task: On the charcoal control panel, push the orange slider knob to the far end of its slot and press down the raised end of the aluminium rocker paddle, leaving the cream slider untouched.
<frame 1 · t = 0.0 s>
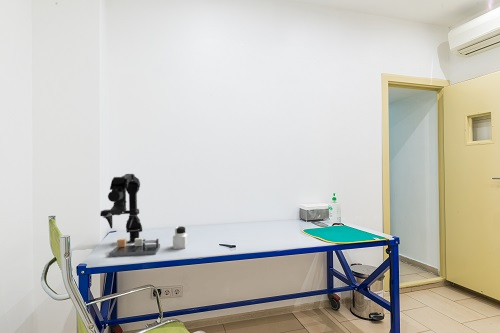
hand: (120, 228, 150), 15 cm above the table, fingers open, 9 cm apart
rocker: (150, 241, 156), point 5 cm above the table, hinge at -15.0°
medicine bottle: (180, 247, 163), on the table
slider orange: (121, 242, 158), point 4 cm above the table, slide at 0.0 cm
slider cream: (138, 242, 159), point 4 cm above the table, slide at 0.0 cm
panel: (136, 251, 155), on the table
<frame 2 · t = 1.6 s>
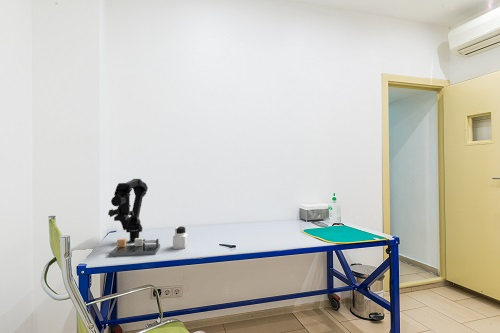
hand: (124, 229, 163), 11 cm above the table, fingers closed
nothing on the table moved.
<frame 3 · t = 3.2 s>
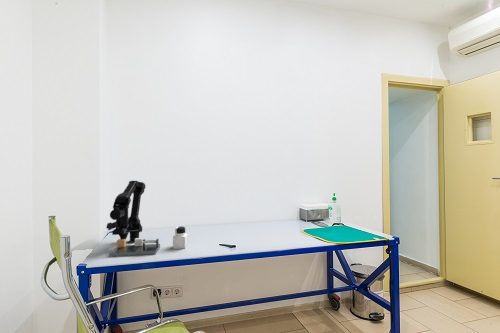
hand: (123, 243, 161), 3 cm above the table, fingers closed
slider orange: (121, 243, 157), point 4 cm above the table, slide at 0.7 cm, touching gripper
everything else where it was.
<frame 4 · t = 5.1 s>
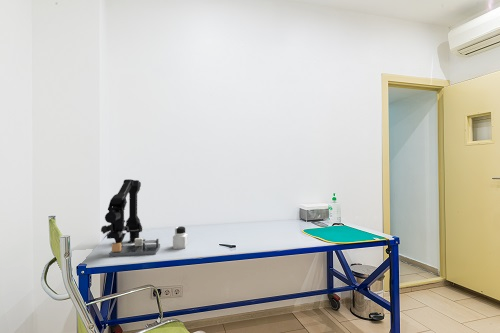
hand: (118, 247, 152), 3 cm above the table, fingers closed
slider orange: (116, 247, 149), point 4 cm above the table, slide at 8.8 cm, touching gripper
everything else where it was.
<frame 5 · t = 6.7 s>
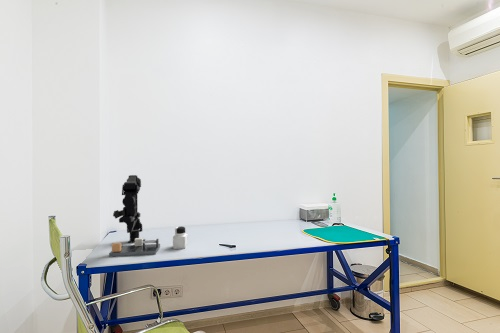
hand: (130, 232, 153), 11 cm above the table, fingers closed
slider orange: (116, 247, 149), point 4 cm above the table, slide at 8.8 cm
everything else where it was.
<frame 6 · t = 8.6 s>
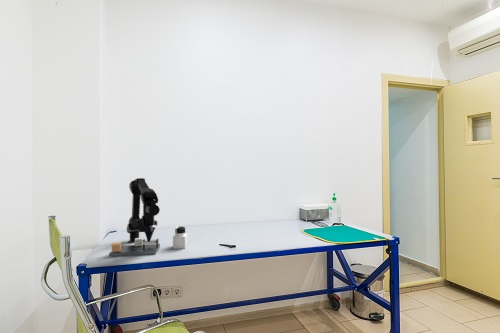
hand: (148, 241, 152), 7 cm above the table, fingers closed, pressing on rocker
rocker: (150, 241, 156), point 5 cm above the table, hinge at -8.3°, touching gripper
everything else where it was.
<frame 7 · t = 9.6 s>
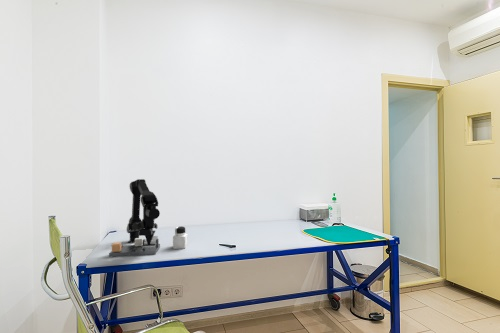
hand: (148, 244, 152), 5 cm above the table, fingers closed
rocker: (150, 241, 156), point 5 cm above the table, hinge at 14.3°, touching gripper
everything else where it was.
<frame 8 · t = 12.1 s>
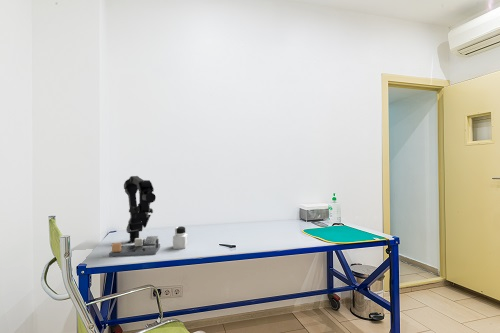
hand: (144, 227, 163), 12 cm above the table, fingers closed
rocker: (150, 241, 156), point 5 cm above the table, hinge at 14.3°
everything else where it was.
at the end: slider orange slide at 8.8 cm; rocker at +14° (first picture: -15°); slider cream slide at 0.0 cm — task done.
